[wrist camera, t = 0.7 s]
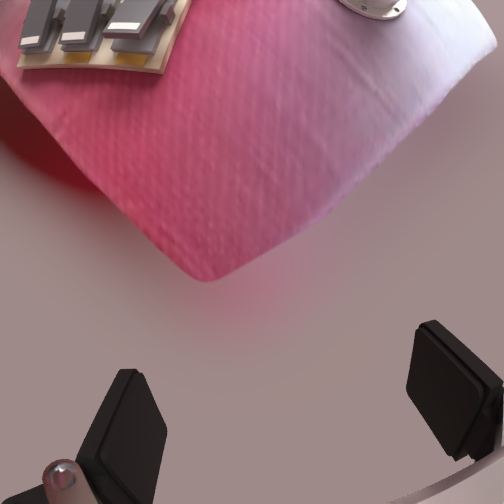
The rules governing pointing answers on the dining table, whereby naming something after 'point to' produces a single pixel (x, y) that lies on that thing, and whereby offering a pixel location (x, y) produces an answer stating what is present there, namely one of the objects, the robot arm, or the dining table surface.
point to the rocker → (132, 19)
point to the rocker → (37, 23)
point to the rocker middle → (80, 22)
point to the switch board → (110, 42)
